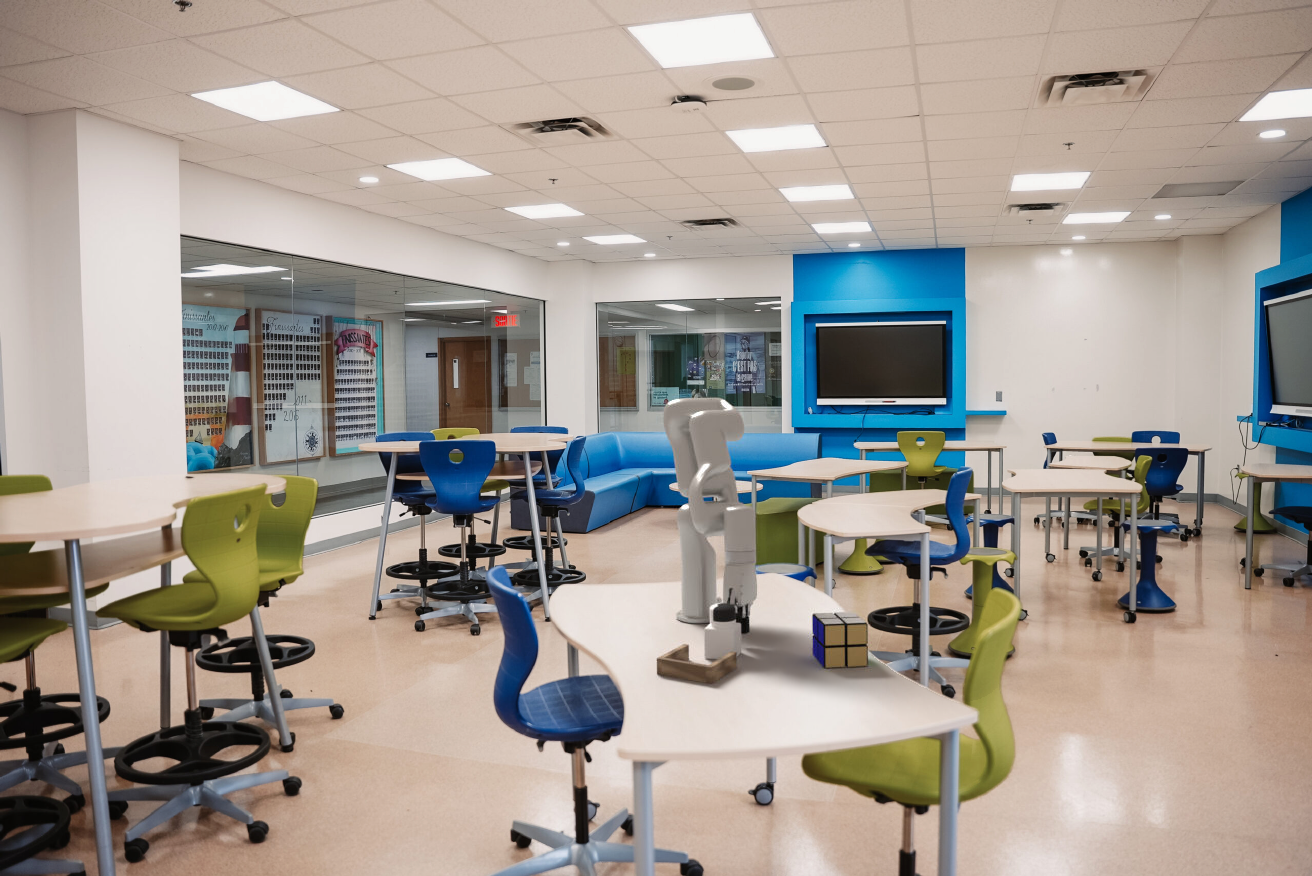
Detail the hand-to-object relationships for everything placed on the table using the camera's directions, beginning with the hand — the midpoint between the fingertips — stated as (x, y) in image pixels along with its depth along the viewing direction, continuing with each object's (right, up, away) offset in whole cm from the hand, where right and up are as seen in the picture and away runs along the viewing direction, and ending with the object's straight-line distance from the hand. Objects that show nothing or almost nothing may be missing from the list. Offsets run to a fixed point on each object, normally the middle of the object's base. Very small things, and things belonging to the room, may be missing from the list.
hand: (742, 632), depth 210 cm
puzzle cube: (+21, -4, -12) cm, 25 cm away
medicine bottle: (-5, -4, -7) cm, 10 cm away
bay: (-11, -4, -17) cm, 21 cm away
